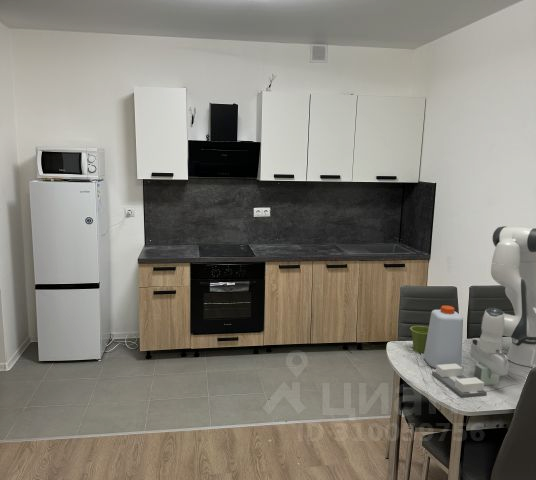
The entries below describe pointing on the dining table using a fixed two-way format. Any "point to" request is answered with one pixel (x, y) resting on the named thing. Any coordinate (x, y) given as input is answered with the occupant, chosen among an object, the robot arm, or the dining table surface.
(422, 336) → the plant pot
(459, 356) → the plastic bottle
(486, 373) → the block
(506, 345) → the dining table surface
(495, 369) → the robot arm
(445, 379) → the board
